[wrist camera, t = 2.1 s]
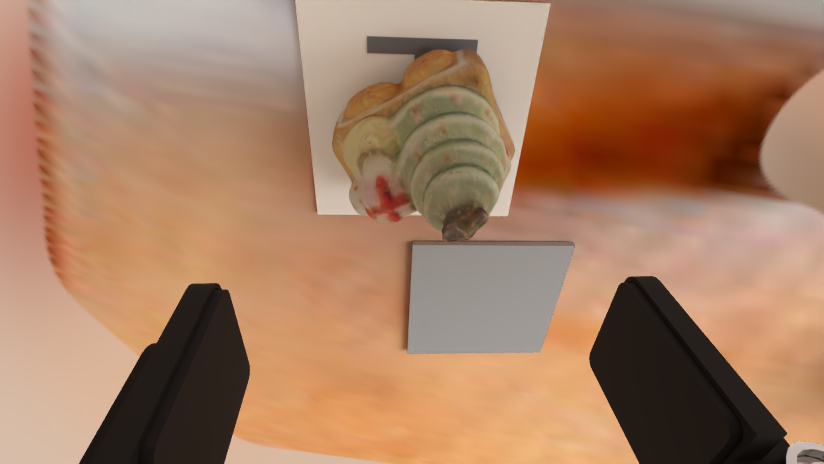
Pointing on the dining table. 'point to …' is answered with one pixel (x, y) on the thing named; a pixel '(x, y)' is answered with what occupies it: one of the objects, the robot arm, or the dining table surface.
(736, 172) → the dining table surface
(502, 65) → the tile
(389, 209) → the ornament
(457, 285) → the grey mat
